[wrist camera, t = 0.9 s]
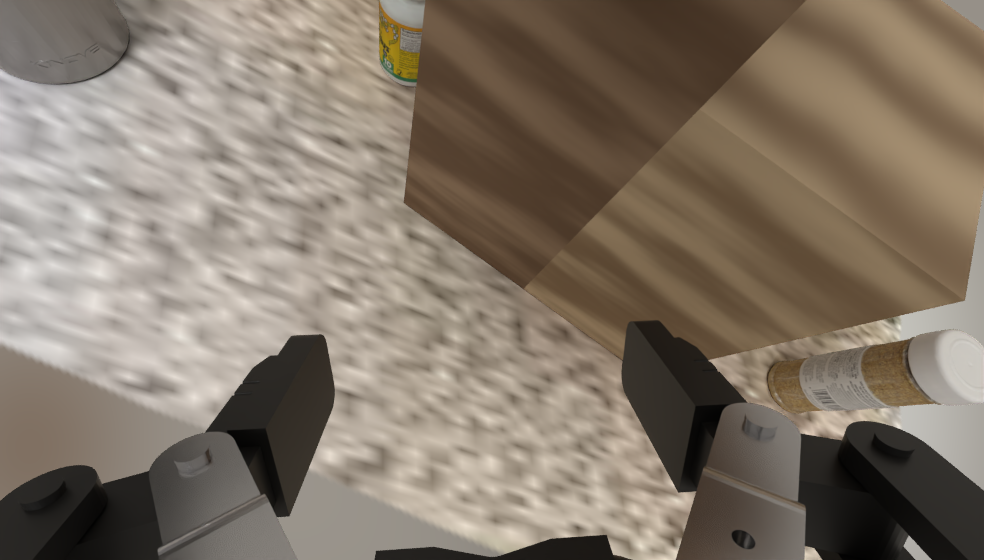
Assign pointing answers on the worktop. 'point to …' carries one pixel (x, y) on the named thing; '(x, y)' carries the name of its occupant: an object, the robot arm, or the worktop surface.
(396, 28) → the supplement bottle
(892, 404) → the sprinkles bottle
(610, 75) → the box
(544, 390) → the worktop surface
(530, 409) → the worktop surface
